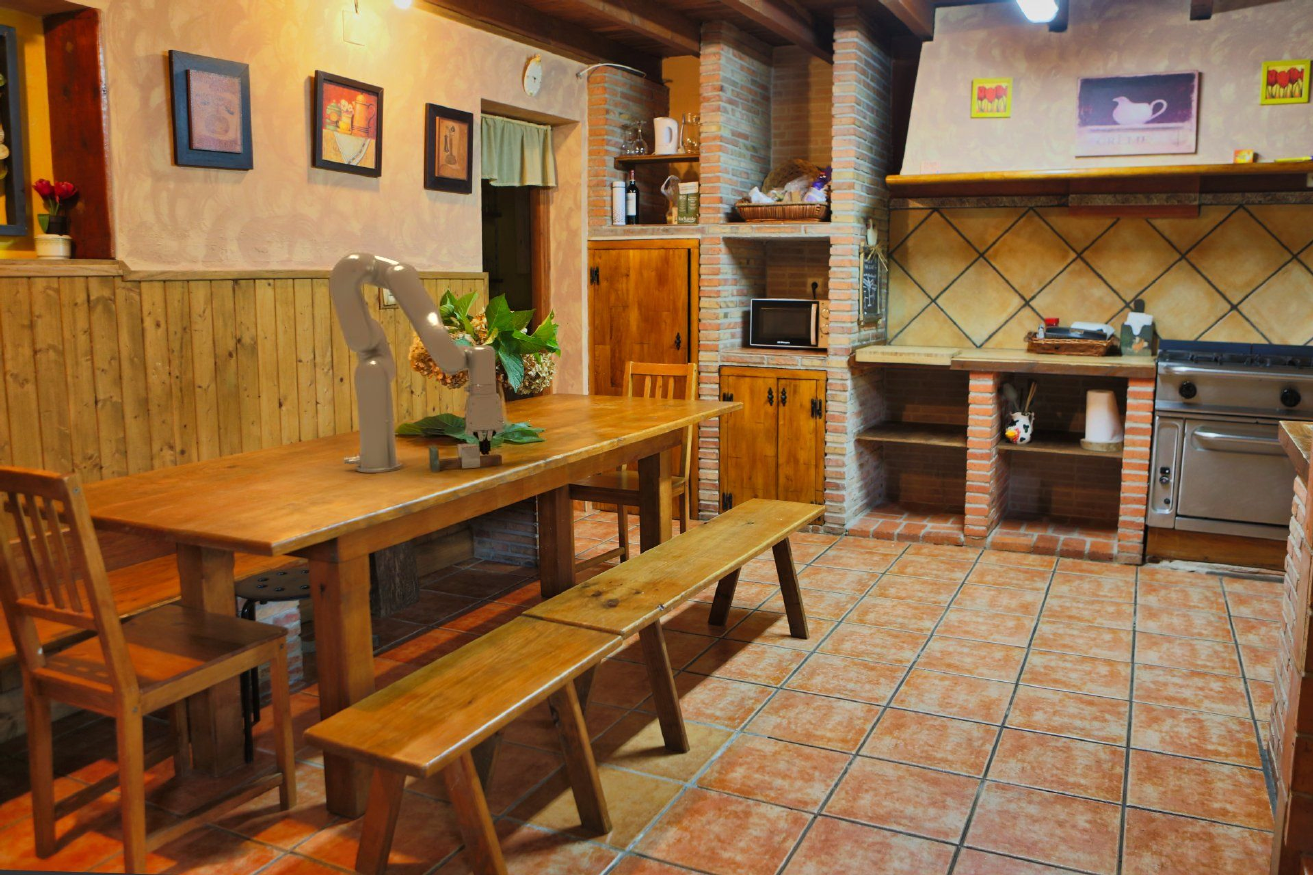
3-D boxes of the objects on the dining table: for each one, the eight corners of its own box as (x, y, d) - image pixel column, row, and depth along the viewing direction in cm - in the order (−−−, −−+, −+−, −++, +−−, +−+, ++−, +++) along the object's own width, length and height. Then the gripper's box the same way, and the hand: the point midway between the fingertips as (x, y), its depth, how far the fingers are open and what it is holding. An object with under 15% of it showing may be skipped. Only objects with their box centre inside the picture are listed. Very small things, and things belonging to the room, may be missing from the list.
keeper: (462, 468, 289) (461, 448, 288) (458, 464, 295) (457, 444, 294) (480, 467, 291) (479, 446, 290) (475, 462, 297) (474, 443, 296)
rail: (434, 472, 286) (433, 450, 285) (429, 466, 293) (428, 445, 292) (504, 466, 292) (503, 445, 291) (498, 461, 300) (497, 440, 299)
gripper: (458, 393, 285) (461, 458, 288) (511, 390, 290) (514, 454, 293) (453, 389, 292) (456, 453, 295) (505, 386, 297) (508, 449, 300)
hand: (485, 453), depth 294 cm, fingers closed
